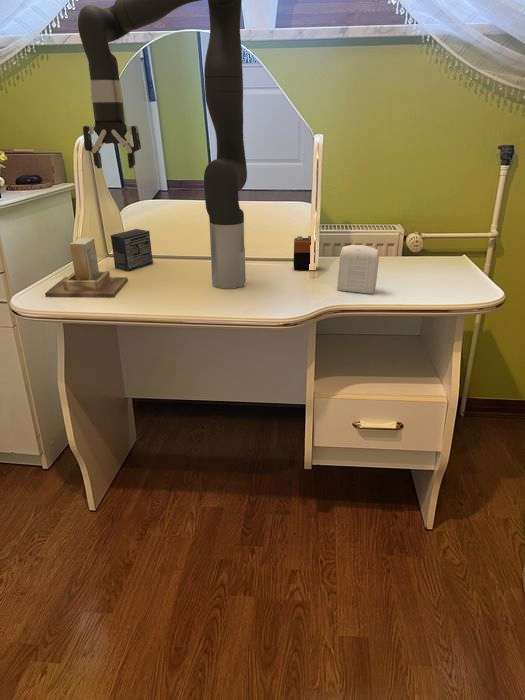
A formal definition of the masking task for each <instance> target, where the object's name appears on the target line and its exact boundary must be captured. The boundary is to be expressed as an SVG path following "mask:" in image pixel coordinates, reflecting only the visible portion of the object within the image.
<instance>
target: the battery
mask: <svg viewBox="0 0 525 700" xmlns="http://www.w3.org/2000/svg"><path fill="white" fill-rule="evenodd" d="M311 236H312V235H307V237H303V236H302V235H300V236H299V235H297V237H294V238H293V270H294V271H295V270H298V271H301V272H303V271H306V272H309V271H308V270H309V264H310V245H311Z"/></svg>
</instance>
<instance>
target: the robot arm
mask: <svg viewBox="0 0 525 700" xmlns="http://www.w3.org/2000/svg"><path fill="white" fill-rule="evenodd" d="M201 1H202V0H115V1H114V4H113V5H111V6H109V7H105V8H101V7H98V6H96V5H91V4H90V5H85V6H83V7H82V8H81V9H80V11H79V14H78V17H77V29H78V33H79V38H80V41H81V43H82V46H83V51H84V53H85V56H86V58H87V61H88V70H89V72H88V73H89V79H90V99H91V101H92V102H91V103H92V104H91V105H92V111H93V118H94V119H93V120H94V126H92V125H91V126H90V125H84V126H83V127H82V130H83V131H82V132H83V133H82V134H83V144H84V150H85V151H88V152H90V153H92V155H93V163H94V166H95V167H96V168H97V169H102V168H103V163H102V156H101V152H100V151H101V148H102V147H103V146H104V144H105V145H107V144H114V145H115V144H117V145H118V144H120V145H121V146H122V147H123V148H124V149H125V151H126V152H127V162H128V168H129V169H134V166H136V156H135V153H136V152H138V151H140V150H141V149H142V146H141V139H140V131H139V127H138V125H132V126H127V125H126V120H125V119H126V118H125V110H124V102H123V99H124V98H123V92H122V87H121V82H120V74H119V72H120V71H119V65H118V59H117V57H116V56H115V55H114V54H113V53H112V52H111V50H110V46H109V43H112V42H114V41H117V40H120V39H122V38H123V37H124V36H126V35H127V34H129V33H131V31H135V30H138V29H140V28H143V27H146V26H148V25H151V24H154V23H155V22H158V21H159V20H161V19H163V18H165V17H166V16H167V15H169V14H170V13H172V12H173V11H174V10H176V9H178V8H180V7H182V6H185V5H187V4H191V3H194V2H201ZM207 4H208V14H209V39H208V44H207V50H206V55H205V61H204V68H203V69H204V72H203V73H204V74H203V77H204V93H205V95H204V96H205V97H204V98H205V103H206V107H207V110H208V113H209V116H210V117H209V118H210V119H211V122H212V125H213V129H214V131H215V137H216V138H215V139H216V159H213V160H211V161H210V162H209V163H208V164H207V165H206V167H205V169H204V174H203V189H204V200H205V202H204V203H205V210H206V212H207V216H208V221H209V222H208V223H209V224H208V225H209V240H210V241H209V243H210V262H211V263H210V265H211V266H210V267H211V268H210V269H211V284H212V286H213V287H215V288H219V289H236V288H243V287H244V288H245V285H246V280H247V279H246V278H247V277H246V247H245V212H244V210H243V209H241V206H240V203H239V202H240V200H239V192H241V190H242V189H243V188H244V187H245V185H246V182H247V179H248V169H247V168H248V167H247V160H246V153H245V152H246V151H245V141H244V74H243V57H242V53H243V52H242V51H243V49H242V37H241V15H242V0H207ZM94 132H95V134H96V135H97V136H98V137H97V139H96V141H95V143H94V145H93V143H92V140H93V139H92V135H93V134H94ZM127 133H129V134H130V136H132V142H133V146H132V145H131V143H130V141H129V140H128V139H127V137H126V134H127Z"/></svg>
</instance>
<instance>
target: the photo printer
mask: <svg viewBox="0 0 525 700" xmlns="http://www.w3.org/2000/svg"><path fill="white" fill-rule="evenodd" d="M379 260H380V256H379V250H378V249H377V248H375V247H372V246H369V245H363V244H352V245H345V246H343V247H342V248H341V251H340V253H339V262H338V272H337V273H338V274H337V275H338V276H337V287H336V289H337V291H344V292H351V293H352V292H353V293H362V294H373V295H374V294H375V293H376V289H377V288H376V287H377V279H378V270H379V263H380V262H379Z"/></svg>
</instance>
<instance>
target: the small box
mask: <svg viewBox="0 0 525 700" xmlns="http://www.w3.org/2000/svg"><path fill="white" fill-rule="evenodd" d="M150 232H151V231H150V230H145V229H138V228H134V229H131V230H127V231H123V232H117V233H114V234H110V242H111V246H112V247H111V248H112V254H113V262H114V269H117V270H121V271H125V272H130V271H134V270H137V269H140V268H143V267H147V266H150V265H152V264H154V260H153V255H152V254H153V253H152V242H151V233H150Z"/></svg>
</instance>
